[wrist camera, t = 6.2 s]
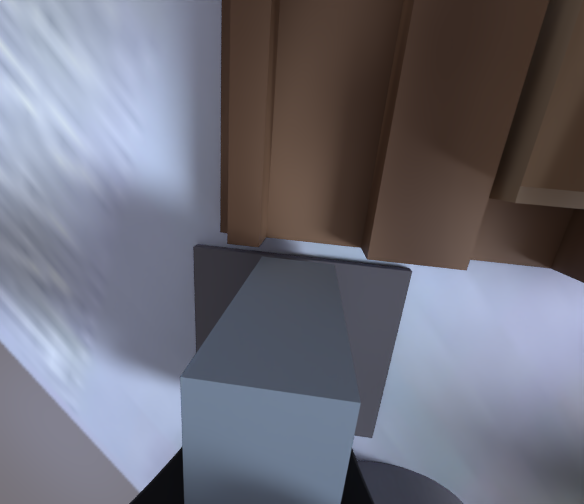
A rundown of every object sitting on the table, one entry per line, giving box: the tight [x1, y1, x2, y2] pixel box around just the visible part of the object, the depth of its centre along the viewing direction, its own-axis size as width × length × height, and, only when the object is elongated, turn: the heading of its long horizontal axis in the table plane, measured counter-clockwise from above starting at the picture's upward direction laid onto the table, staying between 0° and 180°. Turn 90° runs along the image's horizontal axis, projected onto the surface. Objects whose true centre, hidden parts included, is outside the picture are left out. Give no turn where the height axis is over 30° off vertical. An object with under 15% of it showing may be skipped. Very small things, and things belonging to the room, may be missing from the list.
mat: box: [193, 245, 412, 438], centre depth 14 cm, size 10×10×1 cm
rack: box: [220, 0, 584, 283], centre depth 9 cm, size 15×14×2 cm
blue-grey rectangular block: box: [180, 256, 361, 504], centre depth 9 cm, size 3×10×7 cm, turn 175°
